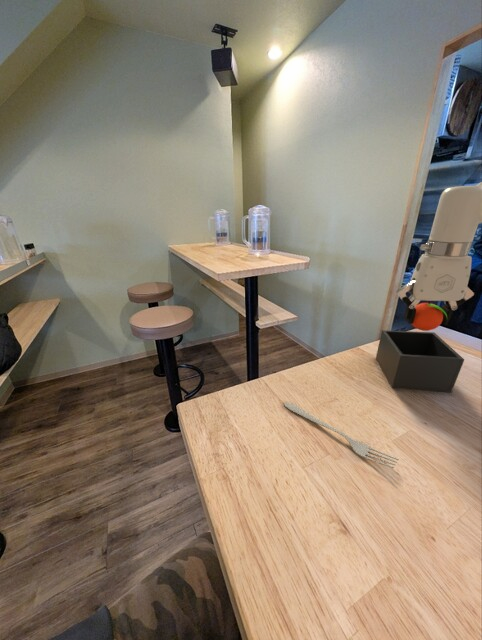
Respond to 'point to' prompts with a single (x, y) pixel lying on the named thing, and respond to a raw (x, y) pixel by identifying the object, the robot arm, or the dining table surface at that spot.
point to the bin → (418, 361)
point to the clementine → (428, 316)
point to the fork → (356, 446)
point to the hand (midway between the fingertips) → (425, 321)
